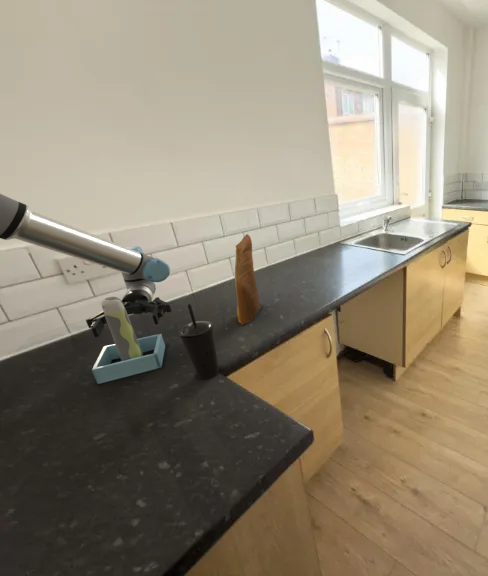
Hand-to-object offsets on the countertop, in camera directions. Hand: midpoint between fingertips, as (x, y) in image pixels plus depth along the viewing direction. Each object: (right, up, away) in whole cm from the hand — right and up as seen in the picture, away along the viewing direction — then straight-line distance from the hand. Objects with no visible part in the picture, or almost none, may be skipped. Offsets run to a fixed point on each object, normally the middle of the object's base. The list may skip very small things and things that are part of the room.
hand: (126, 326), depth 88 cm
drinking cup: (+26, -12, -5) cm, 29 cm away
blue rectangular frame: (+2, -11, 0) cm, 11 cm away
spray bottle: (+2, -11, 0) cm, 11 cm away
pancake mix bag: (+24, +1, +27) cm, 36 cm away
